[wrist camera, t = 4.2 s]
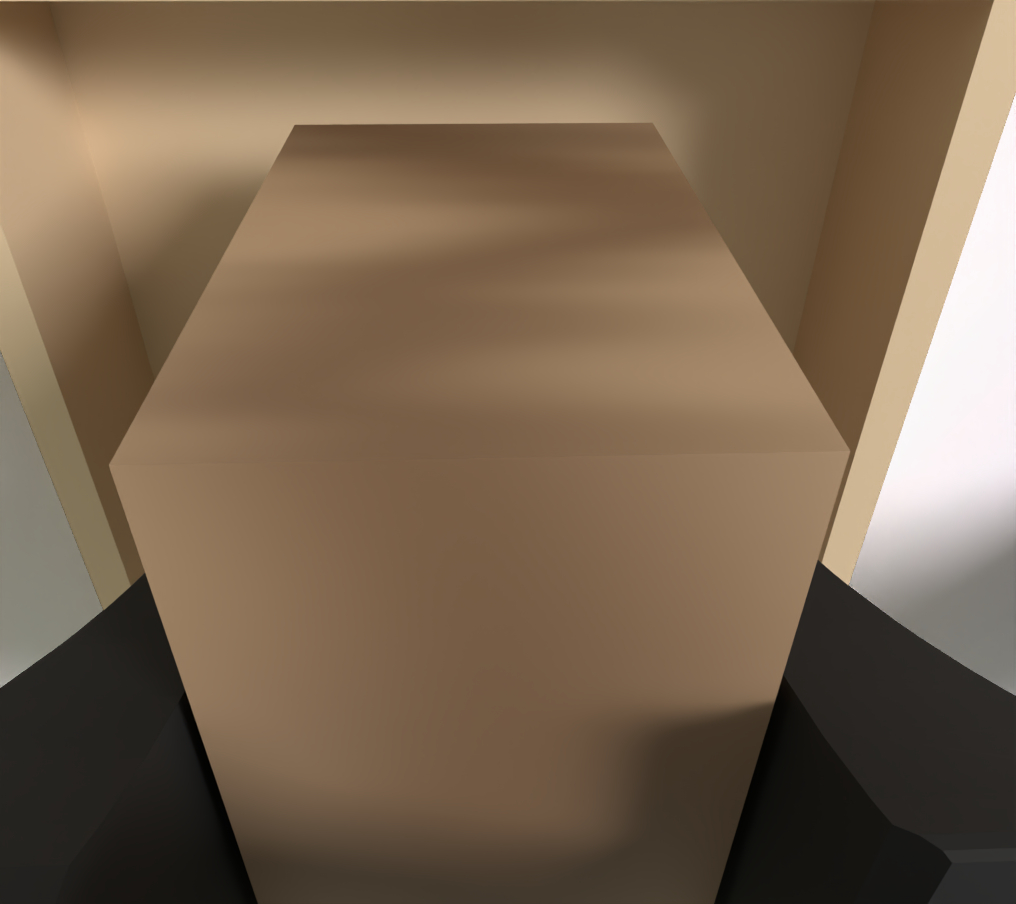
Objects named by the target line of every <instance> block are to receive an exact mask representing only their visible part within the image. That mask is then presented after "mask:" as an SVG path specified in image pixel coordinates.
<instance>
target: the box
mask: <svg viewBox="0 0 1016 904" xmlns="http://www.w3.org/2000/svg"><path fill="white" fill-rule="evenodd" d="M849 454H850V450H849V448H848V446H847V445H846V443H845V441H844V440H843V438H842V436H841V435H840V433H839V431H838V430H837V428H836V426H835V425H834V423H833V421H832V420H831V418H830V416H829V415H828V413H827V412H826V410H825V408H824V407H823V405H822V403H821V402H820V400H819V398H818V397H817V395H816V393H815V392H814V390H813V388H812V387H811V385H810V383H809V382H808V380H807V378H806V377H805V375H804V373H803V372H802V370H801V368H800V367H799V365H798V363H797V362H796V360H795V358H794V357H793V355H792V353H791V352H790V350H789V348H788V347H787V345H786V343H785V342H784V340H783V338H782V337H781V335H780V333H779V332H778V330H777V328H776V327H775V325H774V323H773V322H772V320H771V318H770V317H769V315H768V314H767V312H766V310H765V309H764V307H763V305H762V304H761V302H760V300H759V299H758V297H757V295H756V294H755V292H754V290H753V289H752V287H751V285H750V284H749V282H748V280H747V279H746V277H745V275H744V274H743V272H742V270H741V269H740V267H739V265H738V264H737V262H736V260H735V259H734V257H733V255H732V254H731V252H730V250H729V249H728V247H727V245H726V244H725V242H724V240H723V239H722V237H721V235H720V234H719V232H718V230H717V229H716V227H715V225H714V224H713V222H712V220H711V219H710V217H709V216H708V214H707V212H706V211H705V209H704V207H703V206H702V204H701V202H700V201H699V199H698V197H697V196H696V194H695V192H694V191H693V189H692V187H691V186H690V184H689V182H688V181H687V179H686V177H685V176H684V174H683V172H682V171H681V169H680V167H679V166H678V164H677V162H676V161H675V159H674V157H673V156H672V154H671V152H670V151H669V149H668V147H667V146H666V144H665V142H664V141H663V139H662V137H661V136H660V134H659V132H658V131H657V129H656V127H655V126H654V124H653V123H503V124H332V125H294V127H293V129H292V131H291V132H290V134H289V136H288V138H287V140H286V142H285V143H284V145H283V147H282V149H281V151H280V153H279V154H278V156H277V158H276V160H275V162H274V164H273V165H272V167H271V169H270V171H269V173H268V175H267V176H266V178H265V180H264V182H263V184H262V186H261V187H260V189H259V191H258V193H257V195H256V197H255V198H254V200H253V202H252V204H251V206H250V208H249V209H248V211H247V213H246V215H245V217H244V219H243V220H242V222H241V224H240V226H239V228H238V230H237V231H236V233H235V235H234V237H233V239H232V241H231V242H230V244H229V246H228V248H227V250H226V252H225V253H224V255H223V257H222V259H221V261H220V263H219V264H218V266H217V268H216V270H215V272H214V274H213V275H212V277H211V279H210V281H209V283H208V284H207V286H206V288H205V290H204V292H203V294H202V295H201V297H200V299H199V301H198V303H197V305H196V306H195V308H194V310H193V312H192V314H191V316H190V317H189V319H188V321H187V323H186V325H185V327H184V328H183V330H182V332H181V334H180V336H179V338H178V339H177V341H176V343H175V345H174V347H173V349H172V350H171V352H170V354H169V356H168V358H167V360H166V361H165V363H164V365H163V367H162V369H161V371H160V372H159V374H158V376H157V378H156V380H155V382H154V383H153V385H152V387H151V389H150V391H149V393H148V394H147V396H146V398H145V400H144V402H143V404H142V405H141V407H140V409H139V411H138V413H137V415H136V416H135V418H134V420H133V422H132V424H131V426H130V427H129V429H128V431H127V433H126V435H125V437H124V438H123V440H122V442H121V444H120V446H119V447H118V449H117V451H116V453H115V455H114V457H113V458H112V460H111V462H110V464H109V468H110V471H111V474H112V477H113V480H114V483H115V486H116V489H117V491H118V494H119V497H120V500H121V503H122V506H123V509H124V512H125V515H126V518H127V521H128V524H129V527H130V530H131V533H132V535H133V538H134V541H135V544H136V547H137V550H138V553H139V556H140V559H141V562H142V565H143V568H144V571H145V574H146V577H147V579H148V582H149V585H150V588H151V591H152V594H153V597H154V600H155V603H156V606H157V609H158V612H159V615H160V618H161V621H162V624H163V626H164V629H165V632H166V635H167V638H168V641H169V644H170V647H171V650H172V653H173V656H174V659H175V662H176V665H177V668H178V670H179V673H180V676H181V679H182V682H183V685H184V688H185V691H186V694H187V697H188V700H189V703H190V706H191V709H192V712H193V714H194V717H195V720H196V723H197V726H198V729H199V732H200V735H201V738H202V741H203V744H204V747H205V750H206V753H207V756H208V758H209V761H210V764H211V767H212V770H213V773H214V776H215V779H216V782H217V785H218V788H219V791H220V794H221V797H222V800H223V802H224V805H225V808H226V811H227V814H228V817H229V820H230V823H231V826H232V829H233V832H234V835H235V838H236V841H237V844H238V847H239V849H240V852H241V855H242V858H243V861H244V864H245V867H246V870H247V873H248V876H249V879H250V882H251V885H252V888H253V891H254V893H255V896H256V899H257V902H258V904H714V902H715V899H716V896H717V892H718V889H719V886H720V882H721V879H722V876H723V872H724V869H725V866H726V862H727V859H728V856H729V852H730V849H731V846H732V842H733V839H734V836H735V832H736V829H737V826H738V822H739V819H740V816H741V813H742V809H743V806H744V803H745V799H746V796H747V793H748V789H749V786H750V783H751V779H752V776H753V773H754V769H755V766H756V763H757V759H758V756H759V753H760V749H761V746H762V743H763V739H764V736H765V733H766V730H767V726H768V723H769V720H770V716H771V713H772V710H773V706H774V703H775V700H776V696H777V693H778V690H779V686H780V683H781V680H782V676H783V673H784V670H785V666H786V663H787V660H788V656H789V653H790V650H791V646H792V643H793V640H794V637H795V633H796V630H797V627H798V623H799V620H800V617H801V613H802V610H803V607H804V603H805V600H806V597H807V593H808V590H809V587H810V583H811V580H812V577H813V573H814V570H815V567H816V563H817V560H818V557H819V554H820V550H821V547H822V544H823V540H824V537H825V534H826V530H827V527H828V524H829V520H830V517H831V514H832V510H833V507H834V504H835V500H836V497H837V494H838V490H839V487H840V484H841V480H842V477H843V474H844V471H845V467H846V464H847V461H848V457H849Z"/></svg>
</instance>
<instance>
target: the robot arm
mask: <svg viewBox="0 0 1016 904" xmlns="http://www.w3.org/2000/svg"><path fill="white" fill-rule="evenodd" d="M0 904H258V902H257V899H256V896H255V893H254V891H253V888H252V885H251V882H250V879H249V876H248V873H247V870H246V867H245V864H244V861H243V858H242V855H241V852H240V849H239V847H238V844H237V841H236V838H235V835H234V832H233V829H232V826H231V823H230V820H229V817H228V814H227V811H226V808H225V805H224V802H223V800H222V797H221V794H220V791H219V788H218V785H217V782H216V779H215V776H214V773H213V770H212V767H211V764H210V761H209V758H208V756H207V753H206V750H205V747H204V744H203V741H202V738H201V735H200V732H199V729H198V726H197V723H196V720H195V717H194V714H193V712H192V709H191V706H190V703H189V700H188V697H187V694H186V691H185V688H184V685H183V682H182V679H181V676H180V673H179V670H178V668H177V665H176V662H175V659H174V656H173V653H172V650H171V647H170V644H169V641H168V638H167V635H166V632H165V629H164V626H163V624H162V621H161V618H160V615H159V612H158V609H157V606H156V603H155V600H154V597H153V594H152V591H151V588H150V585H149V582H148V579H147V577H146V574H145V573H144V574H143V575H142V576H141V577H140V578H139V579H138V580H137V581H136V582H135V583H133V584H132V585H131V586H130V587H129V588H128V589H127V590H126V591H125V592H124V593H123V594H121V595H120V596H119V597H118V598H117V599H116V600H115V601H114V602H113V603H112V604H110V605H109V606H108V607H107V608H106V609H105V610H103V611H102V612H101V613H100V614H98V615H97V616H96V617H95V618H94V619H92V620H91V621H90V622H89V623H88V624H86V625H85V626H84V627H83V628H81V629H80V630H79V631H78V632H77V633H75V634H74V635H73V636H71V637H70V638H69V639H68V640H66V641H65V642H64V643H62V644H61V645H60V646H58V647H57V648H56V649H54V650H53V651H51V652H50V653H49V654H47V655H46V656H44V657H43V658H42V659H40V660H39V661H38V662H36V663H35V664H33V665H32V666H31V667H29V668H28V669H26V670H25V671H24V672H22V673H21V674H19V675H18V676H17V677H15V678H14V679H12V680H11V681H10V682H8V683H7V684H5V685H4V686H3V687H1V688H0ZM714 904H1016V696H1015V695H1013V694H1011V693H1009V692H1007V691H1006V690H1004V689H1002V688H1000V687H999V686H997V685H995V684H994V683H992V682H990V681H988V680H987V679H985V678H983V677H982V676H980V675H978V674H977V673H975V672H973V671H971V670H970V669H968V668H967V667H965V666H963V665H962V664H960V663H959V662H957V661H956V660H954V659H952V658H951V657H949V656H948V655H946V654H945V653H943V652H941V651H940V650H938V649H937V648H935V647H934V646H932V645H931V644H929V643H927V642H926V641H924V640H923V639H921V638H920V637H918V636H917V635H915V634H914V633H912V632H911V631H909V630H908V629H907V628H905V627H904V626H902V625H901V624H899V623H898V622H896V621H895V620H894V619H892V618H891V617H890V616H888V615H887V614H886V613H884V612H883V611H882V610H880V609H879V608H878V607H876V606H875V605H874V604H872V603H871V602H870V601H868V600H867V599H866V598H864V597H863V596H862V595H860V594H859V593H858V592H856V591H855V590H854V589H852V588H851V587H850V586H849V585H847V584H846V583H845V582H844V581H842V580H841V579H840V578H839V577H837V576H836V575H835V574H834V573H833V572H831V571H830V570H829V569H828V568H827V567H826V566H825V565H823V564H822V563H821V562H820V561H819V560H817V563H816V567H815V570H814V573H813V577H812V580H811V583H810V587H809V590H808V593H807V597H806V600H805V603H804V607H803V610H802V613H801V617H800V620H799V623H798V627H797V630H796V633H795V637H794V640H793V643H792V646H791V650H790V653H789V656H788V660H787V663H786V666H785V670H784V673H783V676H782V680H781V683H780V686H779V690H778V693H777V696H776V700H775V703H774V706H773V710H772V713H771V716H770V720H769V723H768V726H767V730H766V733H765V736H764V739H763V743H762V746H761V749H760V753H759V756H758V759H757V763H756V766H755V769H754V773H753V776H752V779H751V783H750V786H749V789H748V793H747V796H746V799H745V803H744V806H743V809H742V813H741V816H740V819H739V822H738V826H737V829H736V832H735V836H734V839H733V842H732V846H731V849H730V852H729V856H728V859H727V862H726V866H725V869H724V872H723V876H722V879H721V882H720V886H719V889H718V892H717V896H716V899H715V902H714Z"/></svg>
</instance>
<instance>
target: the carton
mask: <svg viewBox="0 0 1016 904" xmlns="http://www.w3.org/2000/svg"><path fill="white" fill-rule="evenodd" d="M1015 93H1016V0H0V351H1V353H2V356H3V358H4V361H5V363H6V366H7V368H8V371H9V373H10V376H11V378H12V381H13V383H14V386H15V389H16V391H17V394H18V396H19V399H20V401H21V404H22V406H23V409H24V411H25V414H26V416H27V419H28V421H29V424H30V426H31V429H32V431H33V434H34V437H35V439H36V442H37V444H38V447H39V449H40V452H41V454H42V457H43V459H44V462H45V464H46V467H47V469H48V472H49V474H50V477H51V479H52V482H53V485H54V487H55V490H56V492H57V495H58V497H59V500H60V502H61V505H62V507H63V510H64V512H65V515H66V517H67V520H68V522H69V525H70V527H71V530H72V532H73V535H74V538H75V540H76V543H77V545H78V548H79V550H80V553H81V555H82V558H83V560H84V563H85V565H86V568H87V570H88V573H89V575H90V578H91V580H92V583H93V586H94V588H95V591H96V593H97V596H98V598H99V601H100V603H101V606H102V608H103V610H105V609H106V608H107V607H108V606H109V605H110V604H112V603H113V602H114V601H115V600H116V599H117V598H118V597H119V596H120V595H121V594H123V593H124V592H125V591H126V590H127V589H128V588H129V587H130V586H131V585H132V584H133V583H135V582H136V581H137V580H138V579H139V578H140V577H141V576H142V575H143V574H144V573H145V571H144V568H143V565H142V562H141V559H140V556H139V553H138V550H137V547H136V544H135V541H134V538H133V535H132V533H131V530H130V527H129V524H128V521H127V518H126V515H125V512H124V509H123V506H122V503H121V500H120V497H119V494H118V491H117V489H116V486H115V483H114V480H113V477H112V474H111V471H110V468H109V464H110V462H111V460H112V458H113V457H114V455H115V453H116V451H117V449H118V447H119V446H120V444H121V442H122V440H123V438H124V437H125V435H126V433H127V431H128V429H129V427H130V426H131V424H132V422H133V420H134V418H135V416H136V415H137V413H138V411H139V409H140V407H141V405H142V404H143V402H144V400H145V398H146V396H147V394H148V393H149V391H150V389H151V387H152V385H153V383H154V382H155V380H156V378H157V376H158V374H159V372H160V371H161V369H162V367H163V365H164V363H165V361H166V360H167V358H168V356H169V354H170V352H171V350H172V349H173V347H174V345H175V343H176V341H177V339H178V338H179V336H180V334H181V332H182V330H183V328H184V327H185V325H186V323H187V321H188V319H189V317H190V316H191V314H192V312H193V310H194V308H195V306H196V305H197V303H198V301H199V299H200V297H201V295H202V294H203V292H204V290H205V288H206V286H207V284H208V283H209V281H210V279H211V277H212V275H213V274H214V272H215V270H216V268H217V266H218V264H219V263H220V261H221V259H222V257H223V255H224V253H225V252H226V250H227V248H228V246H229V244H230V242H231V241H232V239H233V237H234V235H235V233H236V231H237V230H238V228H239V226H240V224H241V222H242V220H243V219H244V217H245V215H246V213H247V211H248V209H249V208H250V206H251V204H252V202H253V200H254V198H255V197H256V195H257V193H258V191H259V189H260V187H261V186H262V184H263V182H264V180H265V178H266V176H267V175H268V173H269V171H270V169H271V167H272V165H273V164H274V162H275V160H276V158H277V156H278V154H279V153H280V151H281V149H282V147H283V145H284V143H285V142H286V140H287V138H288V136H289V134H290V132H291V131H292V129H293V127H294V125H332V124H503V123H653V124H654V126H655V127H656V129H657V131H658V132H659V134H660V136H661V137H662V139H663V141H664V142H665V144H666V146H667V147H668V149H669V151H670V152H671V154H672V156H673V157H674V159H675V161H676V162H677V164H678V166H679V167H680V169H681V171H682V172H683V174H684V176H685V177H686V179H687V181H688V182H689V184H690V186H691V187H692V189H693V191H694V192H695V194H696V196H697V197H698V199H699V201H700V202H701V204H702V206H703V207H704V209H705V211H706V212H707V214H708V216H709V217H710V219H711V220H712V222H713V224H714V225H715V227H716V229H717V230H718V232H719V234H720V235H721V237H722V239H723V240H724V242H725V244H726V245H727V247H728V249H729V250H730V252H731V254H732V255H733V257H734V259H735V260H736V262H737V264H738V265H739V267H740V269H741V270H742V272H743V274H744V275H745V277H746V279H747V280H748V282H749V284H750V285H751V287H752V289H753V290H754V292H755V294H756V295H757V297H758V299H759V300H760V302H761V304H762V305H763V307H764V309H765V310H766V312H767V314H768V315H769V317H770V318H771V320H772V322H773V323H774V325H775V327H776V328H777V330H778V332H779V333H780V335H781V337H782V338H783V340H784V342H785V343H786V345H787V347H788V348H789V350H790V352H791V353H792V355H793V357H794V358H795V360H796V362H797V363H798V365H799V367H800V368H801V370H802V372H803V373H804V375H805V377H806V378H807V380H808V382H809V383H810V385H811V387H812V388H813V390H814V392H815V393H816V395H817V397H818V398H819V400H820V402H821V403H822V405H823V407H824V408H825V410H826V412H827V413H828V415H829V416H830V418H831V420H832V421H833V423H834V425H835V426H836V428H837V430H838V431H839V433H840V435H841V436H842V438H843V440H844V441H845V443H846V445H847V446H848V448H849V450H850V454H849V457H848V461H847V464H846V467H845V471H844V474H843V477H842V480H841V484H840V487H839V490H838V494H837V497H836V500H835V504H834V507H833V510H832V514H831V517H830V520H829V524H828V527H827V530H826V534H825V537H824V540H823V544H822V547H821V550H820V554H819V557H818V560H819V561H820V562H821V563H822V564H823V565H825V566H826V567H827V568H828V569H829V570H830V571H831V572H833V573H834V574H835V575H836V576H837V577H839V578H840V579H841V580H842V581H844V582H845V583H846V584H847V585H849V582H850V580H851V577H852V574H853V571H854V568H855V565H856V562H857V559H858V556H859V553H860V550H861V547H862V544H863V541H864V538H865V535H866V532H867V529H868V526H869V524H870V521H871V518H872V515H873V512H874V509H875V506H876V503H877V500H878V497H879V494H880V491H881V488H882V485H883V482H884V479H885V476H886V473H887V470H888V468H889V465H890V462H891V459H892V456H893V453H894V450H895V447H896V444H897V441H898V438H899V435H900V432H901V429H902V426H903V423H904V420H905V417H906V414H907V412H908V409H909V406H910V403H911V400H912V397H913V394H914V391H915V388H916V385H917V382H918V379H919V376H920V373H921V370H922V367H923V364H924V361H925V358H926V356H927V353H928V350H929V347H930V344H931V341H932V338H933V335H934V332H935V329H936V326H937V323H938V320H939V317H940V314H941V311H942V308H943V305H944V303H945V300H946V297H947V294H948V291H949V288H950V285H951V282H952V279H953V276H954V273H955V270H956V267H957V264H958V261H959V258H960V255H961V252H962V249H963V247H964V244H965V241H966V238H967V235H968V232H969V229H970V226H971V223H972V220H973V217H974V214H975V211H976V208H977V205H978V202H979V199H980V196H981V193H982V191H983V188H984V185H985V182H986V179H987V176H988V173H989V170H990V167H991V164H992V161H993V158H994V155H995V152H996V149H997V146H998V143H999V140H1000V137H1001V135H1002V132H1003V129H1004V126H1005V123H1006V120H1007V117H1008V114H1009V111H1010V108H1011V105H1012V102H1013V99H1014V96H1015Z"/></svg>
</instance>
